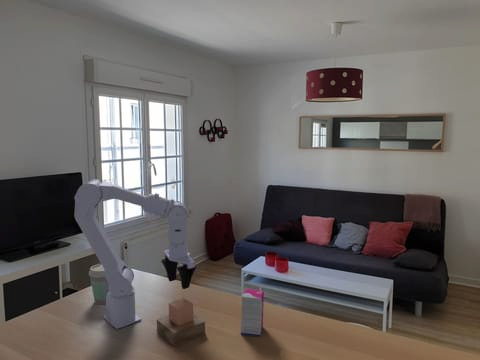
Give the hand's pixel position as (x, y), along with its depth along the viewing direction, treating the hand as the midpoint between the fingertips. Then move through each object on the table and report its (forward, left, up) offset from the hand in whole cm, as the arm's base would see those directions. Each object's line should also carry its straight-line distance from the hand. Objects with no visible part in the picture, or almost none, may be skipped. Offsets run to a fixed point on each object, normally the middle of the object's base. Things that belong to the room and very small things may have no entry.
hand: (178, 284), depth 118 cm
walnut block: (+8, -5, -11) cm, 15 cm away
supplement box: (+22, +11, -11) cm, 26 cm away
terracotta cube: (+8, -5, -7) cm, 12 cm away
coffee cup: (-26, -13, -11) cm, 31 cm away
